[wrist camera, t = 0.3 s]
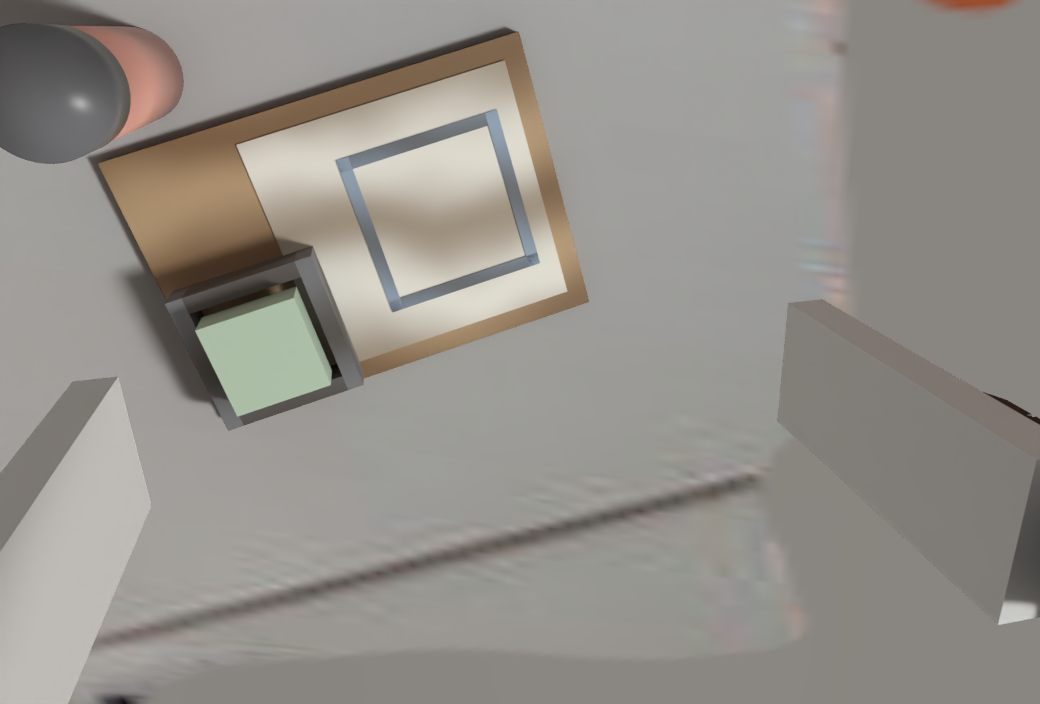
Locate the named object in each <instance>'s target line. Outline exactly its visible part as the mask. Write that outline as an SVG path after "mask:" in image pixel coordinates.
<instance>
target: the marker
mask: <svg viewBox="0 0 1040 704" xmlns="http://www.w3.org/2000/svg"><path fill="white" fill-rule="evenodd" d="M183 82H184V80H183V72H182V68H181V65H180V62H179V60H178V58H177V56H176V55H175V53H174V52H173V50H172V49H171V48H170V47H169V45H168V44H167V43H166V42H165V41H164V40H162V39H161V38H160V37H158V36H157V35H155V34H153V33H152V32H149V31H147V30H144V29H141V28H137V27H128V26H65V25H60V24H25V23H21V24H11V25H6V26H2V27H0V147H1V148H3V149H4V150H6V151H7V152H9V153H11V154H13V155H15V156H17V157H20V158H23V159H25V160H29V161H33V162H37V163H45V164H57V163H65V162H69V161H72V160H75V159H78V158H80V157H82V156H84V155H86V154H89V153H91V152H93V151H95V150H97V149H99V148H101V147H103V146H105V145H107V144H108V143H110V142H111V141H113V140H115V139H117V138H119V137H121V136H123V135H125V134H128V133H130V132H132V131H134V130H136V129H138V128H140V127H143V126H145V125H147V124H149V123H151V122H153V121H156V120H158V119H160V118H162V117H164V116H165V115H167V114H168V113H170V112H171V111H172V110H173V109H174V108H175V106H176V105H177V103H178V102H179V100H180V98H181V95H182V91H183Z"/></svg>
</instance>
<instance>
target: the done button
mask: <svg viewBox="0 0 1040 704" xmlns="http://www.w3.org/2000/svg"><path fill="white" fill-rule="evenodd" d="M195 332H196V334H197V336H198V338H199V340H200V342H201V344H202V346H203V348H204V350H205V352H206V354H207V356H208V358H209V360H210V362H211V364H212V366H213V368H214V370H215V372H216V374H217V376H218V378H219V380H220V383H221V385H222V387H223V389H224V391H225V393H226V395H227V397H228V399H229V401H230V403H231V405H232V407H233V409H234V411H235V413H236V415H237V417H238V416H241V415H244V414H247V413H250V412H253V411H256V410H259V409H262V408H265V407H268V406H271V405H274V404H276V403H279V402H282V401H285V400H288V399H291V398H294V397H297V396H300V395H303V394H306V393H309V392H312V391H315V390H318V389H321V388H324V387H327V386H329V385H331V376H332V369H331V367H330V365H329V362H328V360H327V358H326V355H325V353H324V351H323V348H322V346H321V344H320V341H319V339H318V336H317V334H316V332H315V329H314V327H313V325H312V322H311V320H310V318H309V315H308V313H307V310H306V308H305V306H304V303H303V301H302V299H301V296H300V294H299V292H298V289H297V287H293V288H290V289H287V290H284V291H281V292H278V293H275V294H272V295H269V296H266V297H262V298H259V299H256V300H253V301H250V302H247V303H244V304H241V305H238V306H235V307H232V308H229V309H226V310H223V311H220V312H217V313H214V314H211V315H208V316H205V317H202V318H201V320H200V322H199V324H198V326H197V328H196V330H195Z"/></svg>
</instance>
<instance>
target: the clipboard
mask: <svg viewBox="0 0 1040 704" xmlns="http://www.w3.org/2000/svg"><path fill="white" fill-rule="evenodd" d="M98 165H99V167H100V169H101V171H102V173H103V175H104V177H105V179H106V181H107V183H108V185H109V187H110V189H111V191H112V193H113V195H114V197H115V199H116V201H117V203H118V205H119V207H120V209H121V211H122V213H123V215H124V217H125V219H126V221H127V223H128V225H129V227H130V229H131V231H132V233H133V235H134V237H135V239H136V241H137V243H138V245H139V247H140V249H141V251H142V253H143V255H144V257H145V259H146V261H147V263H148V265H149V267H150V269H151V271H152V273H153V275H154V277H155V279H156V281H157V283H158V285H159V287H160V289H161V291H162V293H163V295H164V297H165V299H166V303H165V306H166V308H167V310H168V312H169V314H170V316H171V318H172V320H173V322H174V324H175V326H176V328H177V330H178V332H179V334H180V336H181V338H182V340H183V342H184V344H185V346H186V348H187V350H188V352H189V354H190V356H191V358H192V360H193V362H194V364H195V366H196V368H197V370H198V372H199V374H200V376H201V378H202V380H203V382H204V384H205V386H206V388H207V390H208V392H209V394H210V396H211V398H212V400H213V402H214V404H215V406H216V408H217V410H218V412H219V414H220V416H221V417H222V419H223V421H224V423H225V425H226V427H227V429H228V431H229V430H232V429H235V428H238V427H241V426H244V425H247V424H250V423H253V422H255V421H258V420H261V419H264V418H267V417H270V416H273V415H276V414H279V413H282V412H285V411H288V410H291V409H294V408H297V407H300V406H302V405H305V404H308V403H311V402H314V401H317V400H320V399H323V398H326V397H329V396H332V395H335V394H338V393H341V392H344V391H347V390H349V389H352V388H355V387H358V386H361V385H363V378H366V377H369V376H372V375H375V374H378V373H381V372H384V371H387V370H390V369H393V368H396V367H399V366H402V365H405V364H407V363H410V362H413V361H416V360H419V359H422V358H425V357H428V356H431V355H434V354H437V353H440V352H443V351H446V350H449V349H452V348H455V347H457V346H460V345H463V344H466V343H469V342H472V341H475V340H478V339H481V338H484V337H487V336H490V335H493V334H496V333H499V332H502V331H505V330H508V329H510V328H513V327H516V326H519V325H522V324H525V323H528V322H531V321H534V320H537V319H540V318H543V317H546V316H549V315H552V314H555V313H558V312H561V311H563V310H566V309H569V308H572V307H575V306H578V305H581V304H584V303H587V302H589V299H588V296H587V292H586V288H585V284H584V280H583V276H582V273H581V269H580V265H579V261H578V257H577V253H576V250H575V246H574V242H573V238H572V234H571V230H570V227H569V223H568V219H567V215H566V211H565V207H564V203H563V200H562V196H561V192H560V188H559V184H558V180H557V177H556V173H555V169H554V165H553V161H552V157H551V154H550V150H549V146H548V142H547V138H546V134H545V131H544V127H543V123H542V119H541V115H540V111H539V108H538V104H537V100H536V96H535V92H534V88H533V84H532V81H531V77H530V73H529V69H528V65H527V61H526V58H525V54H524V50H523V46H522V42H521V38H520V35H519V32H514V33H511V34H507V35H504V36H501V37H498V38H495V39H491V40H488V41H485V42H482V43H479V44H475V45H472V46H469V47H466V48H463V49H460V50H456V51H453V52H450V53H447V54H444V55H440V56H437V57H434V58H431V59H428V60H424V61H421V62H418V63H415V64H412V65H408V66H405V67H402V68H399V69H396V70H393V71H389V72H386V73H383V74H380V75H377V76H373V77H370V78H367V79H364V80H361V81H357V82H354V83H351V84H348V85H345V86H341V87H338V88H335V89H332V90H329V91H326V92H322V93H319V94H316V95H313V96H310V97H306V98H303V99H300V100H297V101H294V102H290V103H287V104H284V105H281V106H278V107H274V108H271V109H268V110H265V111H262V112H259V113H255V114H252V115H249V116H246V117H243V118H239V119H236V120H233V121H230V122H227V123H223V124H220V125H217V126H214V127H211V128H208V129H204V130H201V131H198V132H195V133H192V134H188V135H185V136H182V137H179V138H176V139H172V140H169V141H166V142H163V143H160V144H156V145H153V146H150V147H147V148H144V149H141V150H137V151H134V152H131V153H128V154H125V155H121V156H118V157H115V158H112V159H109V160H105V161H102V162H100V163H98ZM293 287H297V289H298V292H299V294H300V296H301V299H302V301H303V303H304V306H305V308H306V310H307V313H308V315H309V318H310V320H311V322H312V325H313V327H314V329H315V332H316V334H317V336H318V339H319V341H320V344H321V346H322V348H323V351H324V353H325V355H326V358H327V360H328V362H329V365H330V367H331V369H332V376H331V385H329V386H327V387H324V388H321V389H318V390H315V391H312V392H309V393H306V394H303V395H300V396H297V397H294V398H291V399H288V400H285V401H282V402H279V403H276V404H274V405H271V406H268V407H265V408H262V409H259V410H256V411H253V412H250V413H247V414H244V415H241V416H238V417H237V415H236V413H235V411H234V409H233V407H232V405H231V403H230V401H229V399H228V397H227V395H226V393H225V391H224V389H223V387H222V385H221V383H220V380H219V378H218V376H217V374H216V372H215V370H214V368H213V366H212V364H211V362H210V360H209V358H208V356H207V354H206V352H205V350H204V348H203V346H202V344H201V342H200V340H199V338H198V336H197V334H196V332H195V330H196V328H197V326H198V324H199V322H200V320H201V318H202V317H205V316H208V315H211V314H214V313H217V312H220V311H223V310H226V309H229V308H232V307H235V306H238V305H241V304H244V303H247V302H250V301H253V300H256V299H259V298H262V297H266V296H269V295H272V294H275V293H278V292H281V291H284V290H287V289H290V288H293Z"/></svg>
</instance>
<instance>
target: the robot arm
mask: <svg viewBox="0 0 1040 704" xmlns="http://www.w3.org/2000/svg"><path fill="white" fill-rule="evenodd" d="M778 422H779V423H780V424H781V425H782V426H783V427H784V428H785V429H787V430H788V431H789V432H790V433H791V434H792V435H793V436H794V437H795V438H796V439H797V440H798V441H800V442H801V443H802V444H803V445H804V446H805V447H806V448H807V449H808V450H809V451H810V452H812V453H813V454H814V455H815V456H816V457H817V458H818V459H819V460H820V461H821V462H822V463H823V464H824V465H826V466H827V467H828V468H829V469H830V470H831V471H832V472H833V473H834V474H835V475H836V476H837V477H838V478H840V479H841V480H842V481H843V482H844V483H845V484H846V485H847V486H848V487H849V488H850V489H851V490H853V491H854V492H855V493H856V494H857V495H858V496H859V497H860V498H861V499H862V500H863V501H864V502H866V503H867V504H868V505H869V506H870V507H871V508H872V509H873V510H874V511H875V512H876V513H877V514H879V515H880V516H881V517H882V518H883V519H884V520H885V521H886V522H887V523H888V524H889V525H890V526H892V527H893V528H894V529H895V530H896V531H897V532H898V533H899V534H900V535H901V536H902V537H903V538H905V539H906V540H907V541H908V542H909V543H910V544H911V545H912V546H913V547H914V548H916V550H918V551H919V552H920V553H921V554H922V555H923V556H924V557H925V558H926V559H927V560H928V561H929V562H931V563H932V564H933V565H934V566H935V567H936V568H937V569H938V570H939V571H940V572H941V573H942V574H944V575H945V576H946V577H947V578H948V579H949V580H950V581H951V582H952V583H953V584H954V585H955V586H956V587H958V588H959V589H960V590H961V591H962V592H963V593H964V594H965V595H966V596H967V597H968V598H969V599H971V600H972V601H973V602H974V603H975V604H976V605H977V606H978V607H979V608H980V609H981V610H982V611H984V612H985V613H986V614H987V615H988V616H989V617H990V618H991V619H992V620H993V621H994V622H996V623H997V624H998V625H1000V624H1005V623H1010V622H1016V621H1021V620H1026V619H1032V618H1037V617H1040V419H1039V418H1037V417H1032V416H1031V414H1030V413H1028V412H1027V411H1025V410H1023V409H1021V408H1020V407H1018V406H1016V405H1014V404H1013V403H1011V402H1009V401H1007V400H1005V399H1002V398H999V397H996V396H993V395H990V394H987V393H984V392H982V391H980V390H978V389H977V388H975V387H973V386H971V385H970V384H968V383H966V382H964V381H962V380H961V379H959V378H957V377H956V376H954V375H952V374H951V373H949V372H947V371H945V370H944V369H942V368H940V367H938V366H936V365H935V364H933V363H931V362H930V361H928V360H926V359H925V358H923V357H921V356H919V355H918V354H916V353H914V352H912V351H911V350H909V349H907V348H905V347H904V346H902V345H900V344H899V343H897V342H895V341H893V340H892V339H890V338H888V337H886V336H885V335H883V334H881V333H879V332H878V331H876V330H874V329H872V328H871V327H869V326H867V325H866V324H864V323H862V322H860V321H859V320H857V319H855V318H853V317H852V316H850V315H848V314H847V313H845V312H843V311H841V310H840V309H838V308H836V307H834V306H833V305H831V304H829V303H827V302H826V301H824V300H822V299H821V300H812V301H803V302H794V303H788V310H787V321H786V332H785V344H784V355H783V366H782V377H781V388H780V399H779V410H778ZM150 508H151V503H150V499H149V495H148V491H147V487H146V483H145V479H144V475H143V472H142V468H141V464H140V460H139V456H138V452H137V448H136V444H135V440H134V437H133V433H132V429H131V425H130V421H129V417H128V413H127V409H126V405H125V402H124V398H123V394H122V390H121V386H120V382H119V378H118V377H111V378H102V379H93V380H84V381H75V382H72V384H71V385H70V386H69V387H68V389H67V390H66V391H65V392H64V394H63V395H62V396H61V397H60V399H59V400H58V401H57V402H56V404H55V405H54V406H53V408H52V409H51V410H50V411H49V413H48V414H47V415H46V416H45V418H44V419H43V420H42V421H41V423H40V424H39V425H38V426H37V428H36V429H35V430H34V432H33V433H32V434H31V435H30V437H29V438H28V439H27V440H26V442H25V443H24V444H23V445H22V447H21V448H20V449H19V451H18V452H17V453H16V454H15V456H14V457H13V458H12V459H11V461H10V462H9V463H8V464H7V466H6V467H5V468H4V469H3V471H2V472H1V473H0V704H68V702H69V700H70V698H71V695H72V693H73V690H74V688H75V686H76V683H77V681H78V679H79V676H80V674H81V671H82V669H83V667H84V664H85V662H86V660H87V657H88V655H89V652H90V650H91V648H92V645H93V643H94V641H95V638H96V636H97V633H98V631H99V629H100V626H101V624H102V622H103V619H104V617H105V614H106V612H107V610H108V607H109V605H110V603H111V600H112V598H113V595H114V593H115V591H116V588H117V586H118V584H119V581H120V579H121V576H122V574H123V572H124V569H125V567H126V565H127V562H128V560H129V557H130V555H131V553H132V550H133V548H134V546H135V543H136V541H137V538H138V536H139V534H140V531H141V529H142V527H143V524H144V522H145V520H146V517H147V515H148V512H149V510H150Z"/></svg>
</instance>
